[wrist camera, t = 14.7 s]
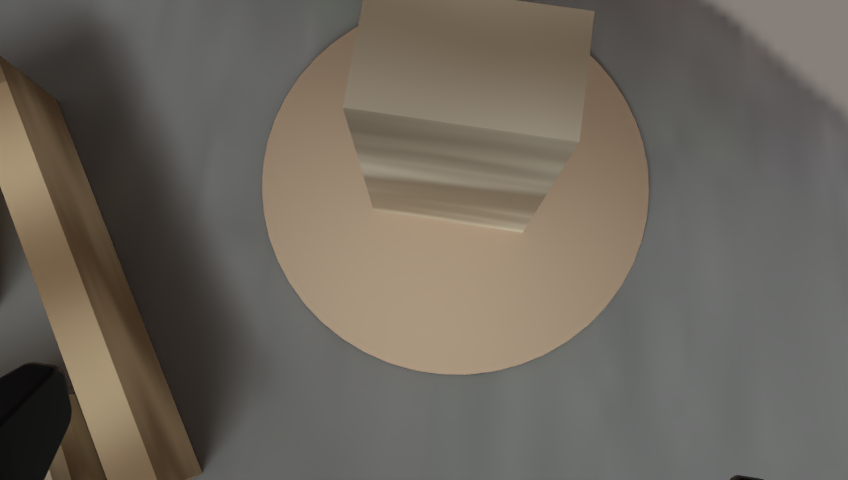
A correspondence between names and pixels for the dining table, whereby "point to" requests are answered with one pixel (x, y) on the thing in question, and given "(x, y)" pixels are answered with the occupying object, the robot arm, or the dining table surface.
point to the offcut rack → (86, 302)
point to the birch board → (466, 105)
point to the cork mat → (450, 238)
